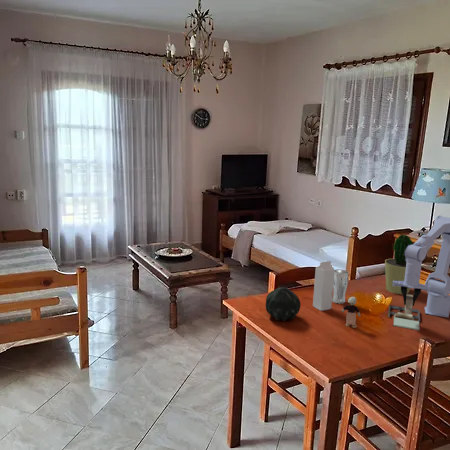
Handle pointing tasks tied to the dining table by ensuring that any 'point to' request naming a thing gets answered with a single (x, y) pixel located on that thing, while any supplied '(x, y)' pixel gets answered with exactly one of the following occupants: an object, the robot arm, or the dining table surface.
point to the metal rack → (403, 309)
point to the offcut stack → (404, 316)
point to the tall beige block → (408, 304)
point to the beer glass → (340, 286)
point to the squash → (282, 304)
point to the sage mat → (406, 323)
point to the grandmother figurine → (351, 312)
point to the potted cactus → (397, 264)
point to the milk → (323, 286)
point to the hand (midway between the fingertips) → (408, 304)
